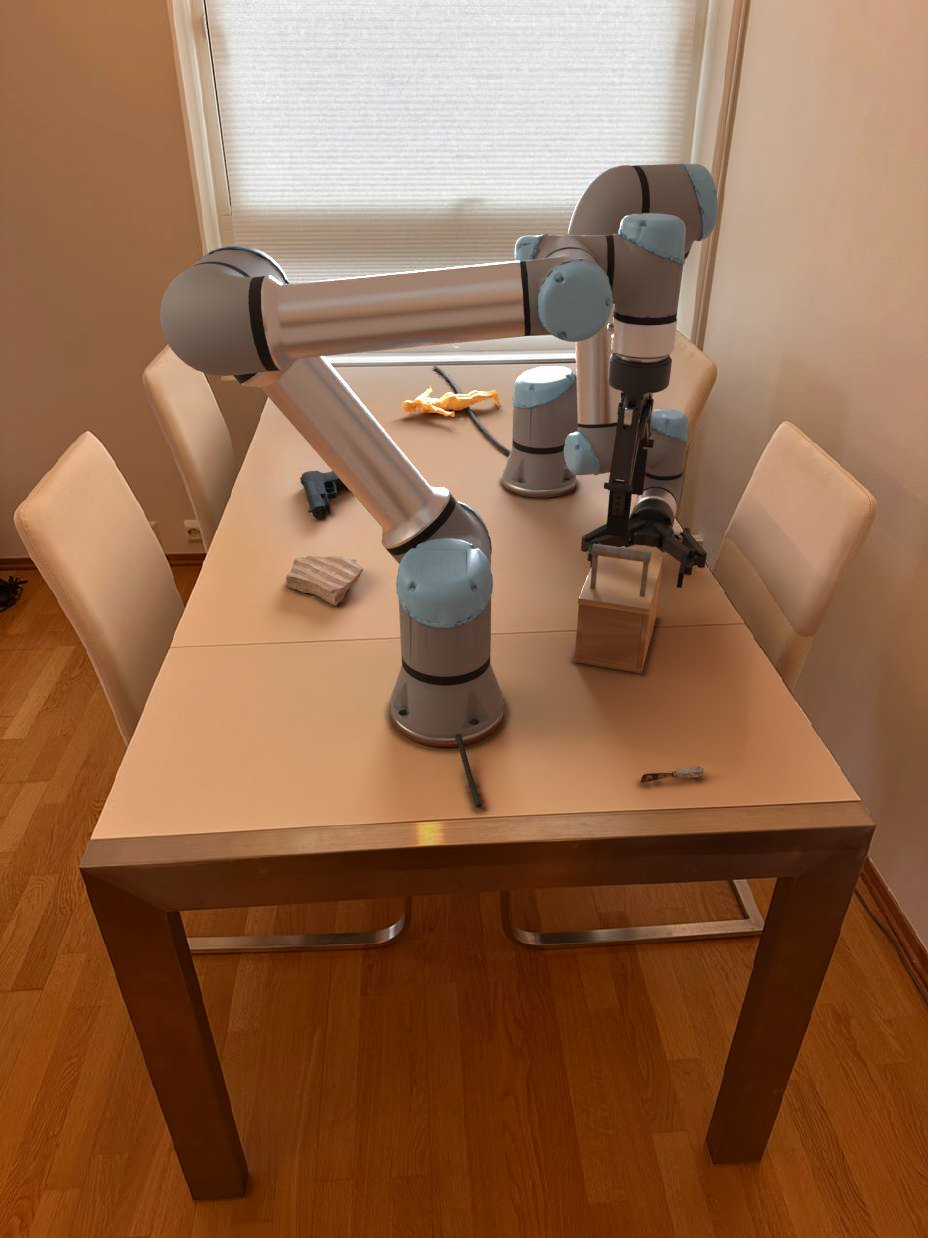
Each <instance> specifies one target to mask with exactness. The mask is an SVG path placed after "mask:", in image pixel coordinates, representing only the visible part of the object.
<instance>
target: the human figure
mask: <svg viewBox="0 0 928 1238" xmlns="http://www.w3.org/2000/svg"><path fill="white" fill-rule="evenodd" d="M424 391H425V392H423V393H422V394H420V395H418V396H416V398H415V399H414V400H404V401H403V402H402V411H404V412H405V413H410V414H412V413H414V412H417V408H418V409H420V410H421V411H423V412H424V413H427V414H439V415H443V416H444V417H449V416H450V417H451V418H452V417H453V418H454V417H455V416H456V414H455V411H462V410H464V409H466V408H467V407H469V408H470V407H471V406H473V405H476V404H478V403H481V402H484V401H488V400H493V402H494V403H495V404H496V405H497V406H500V398H499V393H498V392H497V391H496V390H495V389H493V390H491V391H478V390H473V391H470V392H469V393H468V394H462V393H461V394H458V393H456V394H455V393H453V392H446V393H444V394H443V395H442V396H441V397H440V398H434V397H429V396H430V395H432V394H433V392H434V391H433V389H432V385H429V387H428V389H424ZM450 410H452V411H450Z"/></svg>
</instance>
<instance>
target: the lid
mask: <svg viewBox="0 0 928 1238" xmlns="http://www.w3.org/2000/svg"><path fill="white" fill-rule="evenodd" d="M591 554H592V555H593V559H592V567H591V569H590V568H589V572H588V574H587V576H586V578H585V581H584V584H583V586H582V589H581V591H580V593H579V595H578V599H577V604H578V605H579V604H583V605H589V606H596V607H602V608H609V609H615V610H621V611H628V612H634V613H641V614H647V615H648V614H649V610H650V607H651V603H652V599H653V596H654V592H655V589H656V585H657V581H658V578H659V574H660V571H661V567H662V568H663V566H662V563H663V564H664V558H665V557H664V555H660V554H659V555H658V554H654V553H653V554H652V551H649V550H643V549H635V548H629V547H627V548H626V547H614V546H606V545H599V544H593V546H592V552H591Z"/></svg>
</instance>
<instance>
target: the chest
mask: <svg viewBox="0 0 928 1238" xmlns="http://www.w3.org/2000/svg"><path fill="white" fill-rule="evenodd" d="M663 566H664V562H663V563H662V567H661V571H660V574H659V578H658V581H657V585H656V589H655V592H654V596H653V599H652V603H651V607H650V610H649V614H648V615H647V614H641V613H634V612H628V611H621V610H615V609H609V608H602V607H596V606H589V605H583V604H578V609H577V622H576V636H575V650H574V663H578V664H584V665H588V666H589V665H590V666H595V667H601V668H607V669H612V670H618V671H624V672H631V673H636V674H642V673H643V670H644V665H645V662H646V658H647V654H648V650H649V646H650V642H651V638H652V636H653V630H654V627H655V623H656V619H657V612H658V603H659V598H660V597H659V596H660V589H661V583H662V582H661V580H662V573H663Z"/></svg>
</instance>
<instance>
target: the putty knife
mask: <svg viewBox="0 0 928 1238" xmlns="http://www.w3.org/2000/svg"><path fill="white" fill-rule="evenodd" d="M704 772H705V771H704V768H702V767H701V766H697V765H695V766H688V767H683V768H679V769H675V770H673V771H671V772H653V773H652V772H651V773H650V772H649V773H644V774H642V776H641V779H640V783H642V784H645V783H648V782H653V781H659V780H665V779H668V778H673V779H674V778H675V779H693V778H694V779H695V778H700V777H702V776H703V775H704Z"/></svg>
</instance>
